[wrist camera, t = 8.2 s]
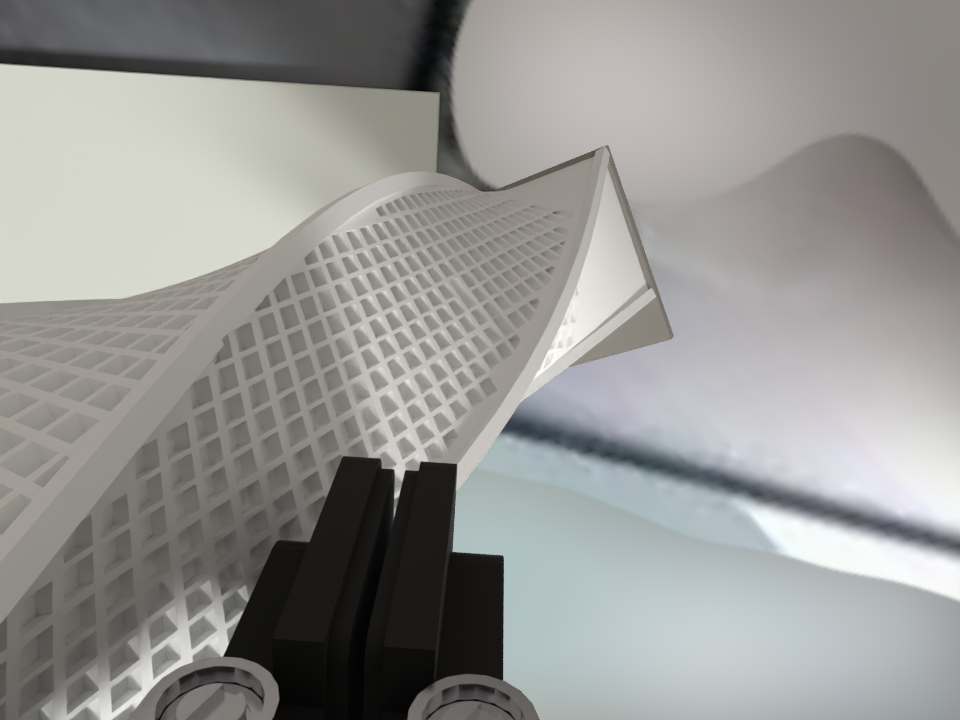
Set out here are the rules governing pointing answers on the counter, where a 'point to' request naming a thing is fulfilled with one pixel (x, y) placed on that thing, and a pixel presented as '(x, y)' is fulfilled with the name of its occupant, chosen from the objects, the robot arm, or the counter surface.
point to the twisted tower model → (278, 408)
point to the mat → (179, 171)
